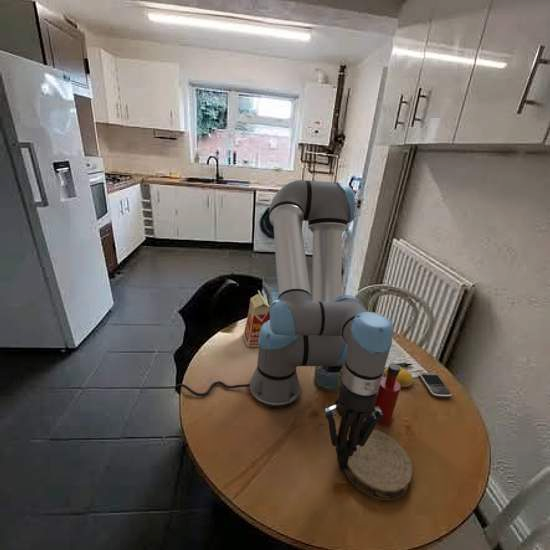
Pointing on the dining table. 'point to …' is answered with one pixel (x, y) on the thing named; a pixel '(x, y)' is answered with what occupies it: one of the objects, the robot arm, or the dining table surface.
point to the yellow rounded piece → (402, 377)
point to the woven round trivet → (380, 467)
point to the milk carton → (256, 319)
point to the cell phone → (435, 385)
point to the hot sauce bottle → (388, 393)
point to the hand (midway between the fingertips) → (341, 463)
